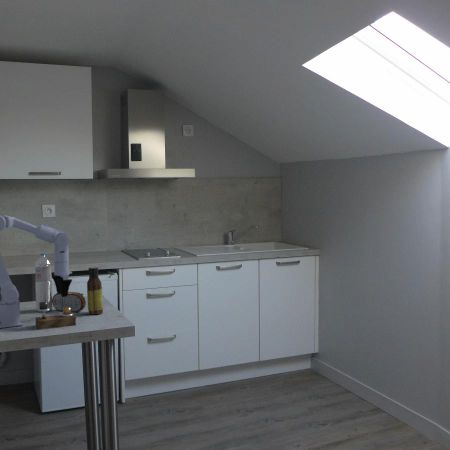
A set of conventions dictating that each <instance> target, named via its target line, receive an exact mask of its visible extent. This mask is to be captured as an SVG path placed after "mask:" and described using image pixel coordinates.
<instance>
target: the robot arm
mask: <svg viewBox="0 0 450 450" xmlns="http://www.w3.org/2000/svg"><path fill="white" fill-rule="evenodd" d="M5 228H6V229H11V228H16V229H19V230H22V231H25V232H29V233H32V234H33V235H34V238H36V239H39V240H41V241H44V242H47V243H50V244H53V245H54V250H53V263H54V265H53V266H54V267H53V268H54V270H53V271H54V272H53V275H52V281H53V282H54V285H55V290H56V293H61V296H62V297H67V295H68V292H69V289H70V286H71V284H72V282H73V280H72V279H71V278H69V275H70V274H73V272H72V271H71V270H70V258H69V257H70V255H69V254H70V252H69V251H70V250H69V244H70V242H71V241H70V240H71V239H70V237H69V234H67V233H65V232H64V231H63V230H60V229H58V228H56V229H55V228H53V227H50V226H49V225H48V224H46V223H44V224H39V225H35V224H32V223H30V222H27V221H24V220H22V219H19V218H17V217H14V216H12V215H8V214H1V213H0V233H1V232H2V231H3V230H4V229H5ZM0 295H1V300H0V329H5V328H12V327H20V326H23V323H22V321H21V307H20V300H19V298H20V293H19V291H18V288H17V286H15V284H14V283H12V279H11V278H10V276H9V272H8V270H7V267H6V265H5V262H4V260H3V258H2V254H0Z"/></svg>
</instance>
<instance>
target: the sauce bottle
mask: <svg viewBox="0 0 450 450" xmlns="http://www.w3.org/2000/svg"><path fill="white" fill-rule="evenodd" d="M88 272H89V273H88V280H87V282H86V293H87V295H86V296H87V310H88V313H89V315H101V314H103V313H104V302H103V301H104V300H103V286H102V281H101V280H100V277H99V267H98V266H90V267H88Z"/></svg>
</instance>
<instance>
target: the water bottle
mask: <svg viewBox="0 0 450 450" xmlns="http://www.w3.org/2000/svg"><path fill="white" fill-rule="evenodd" d="M34 267H35V280H34V281H35V282H34V283H35V285H34V286H35V309H36V311H37V309H38V308H40V305H39V302H48V307H49V308H50V311H49V312H51V311H53V303H52V298H53V278H52V276H53V275H52V262H51V260H50V259H49V258H48V257H47V256H46V253H45V252H42V253H40V256H39V258H37V259H36V261H35V263H34ZM45 313H48V311H46V312H45Z"/></svg>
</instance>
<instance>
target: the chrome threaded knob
mask: <svg viewBox="0 0 450 450" xmlns="http://www.w3.org/2000/svg"><path fill="white" fill-rule="evenodd" d="M39 305H40V308H38V309H37V310H36V312H38V313H41V317H42V319H45V316H46V313H47V312H46V311H49V312H51V311H50V308H49V307H48V302H39Z"/></svg>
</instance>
